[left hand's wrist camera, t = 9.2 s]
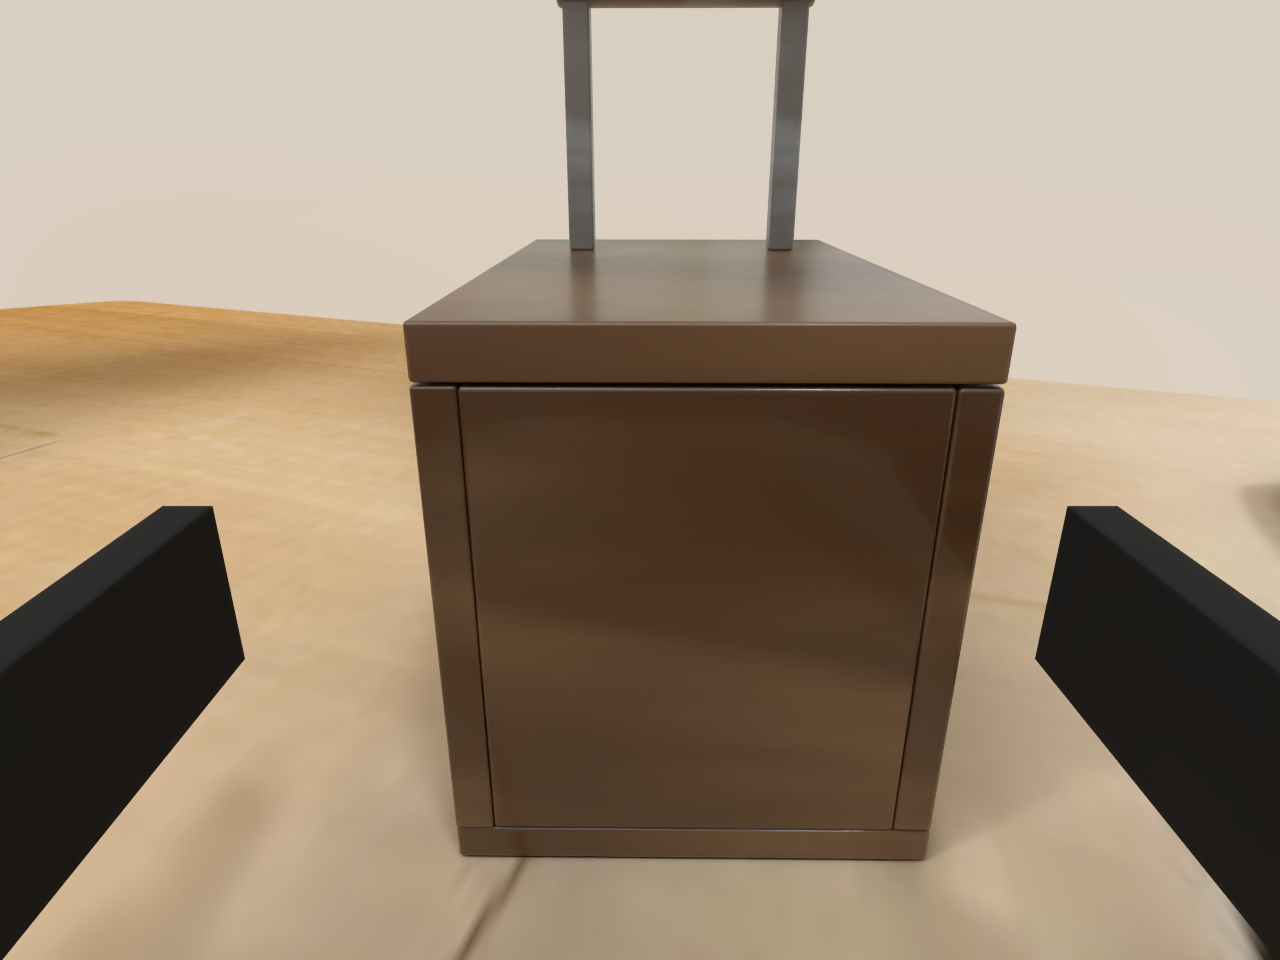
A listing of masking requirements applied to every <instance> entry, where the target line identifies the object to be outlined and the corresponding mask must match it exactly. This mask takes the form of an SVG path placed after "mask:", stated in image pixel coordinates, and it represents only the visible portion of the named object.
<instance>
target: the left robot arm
mask: <svg viewBox="0 0 1280 960" xmlns="http://www.w3.org/2000/svg"><path fill="white" fill-rule="evenodd" d="M244 659H245V657H244V652H243V648H242V643H241V638H240V633H239V629H238V624H237V619H236V615H235V610H234V605H233V601H232V596H231V591H230V586H229V582H228V577H227V572H226V568H225V563H224V558H223V553H222V549H221V544H220V539H219V535H218V530H217V525H216V520H215V516H214V511H213V506H162V507H161V508H159V509H158V510H156V511H155V512H154V513H152V514H151V515H149V516H148V517H147V518H145V519H144V520H142V521H141V522H140V523H138V524H137V525H135V526H134V527H132V528H131V529H130V530H128V531H127V532H125V533H124V534H123V535H121V536H120V537H118V538H117V539H115V540H114V541H113V542H111V543H110V544H108V545H107V546H106V547H104V548H103V549H101V550H100V551H99V552H97V553H96V554H94V555H93V556H91V557H90V558H89V559H87V560H86V561H84V562H83V563H82V564H80V565H79V566H77V567H76V568H75V569H73V570H72V571H70V572H69V573H67V574H66V575H65V576H63V577H62V578H60V579H59V580H58V581H56V582H55V583H53V584H52V585H50V586H49V587H48V588H46V589H45V590H43V591H42V592H41V593H39V594H38V595H36V596H35V597H34V598H32V599H31V600H29V601H28V602H26V603H25V604H24V605H22V606H21V607H19V608H18V609H17V610H15V611H14V612H12V613H11V614H10V615H8V616H7V617H5V618H4V619H2V620H1V621H0V960H3V958H4V957H5V956H6V955H7V953H8V952H9V951H10V950H11V949H12V947H13V946H14V945H15V944H16V942H17V941H18V940H19V939H20V937H21V936H22V935H23V934H24V932H25V931H26V930H27V929H28V927H29V926H30V925H31V924H32V922H33V921H34V920H35V919H36V917H37V916H38V915H39V914H40V913H41V911H42V910H43V909H44V908H45V906H46V905H47V904H48V903H49V901H50V900H51V899H52V898H53V896H54V895H55V894H56V893H57V891H58V890H59V889H60V888H61V886H62V885H63V884H64V883H65V881H66V880H67V879H68V878H69V877H70V875H71V874H72V873H73V872H74V870H75V869H76V868H77V867H78V865H79V864H80V863H81V862H82V860H83V859H84V858H85V857H86V855H87V854H88V853H89V852H90V850H91V849H92V848H93V847H94V845H95V844H96V843H97V842H98V841H99V839H100V838H101V837H102V836H103V834H104V833H105V832H106V831H107V829H108V828H109V827H110V826H111V824H112V823H113V822H114V821H115V819H116V818H117V817H118V816H119V814H120V813H121V812H122V811H123V809H124V808H125V807H126V806H127V805H128V803H129V802H130V801H131V800H132V798H133V797H134V796H135V795H136V793H137V792H138V791H139V790H140V788H141V787H142V786H143V785H144V783H145V782H146V781H147V780H148V778H149V777H150V776H151V775H152V773H153V772H154V771H155V770H156V769H157V767H158V766H159V765H160V764H161V762H162V761H163V760H164V759H165V757H166V756H167V755H168V754H169V752H170V751H171V750H172V749H173V747H174V746H175V745H176V744H177V742H178V741H179V740H180V739H181V737H182V736H183V735H184V734H185V733H186V731H187V730H188V729H189V728H190V726H191V725H192V724H193V723H194V721H195V720H196V719H197V718H198V716H199V715H200V714H201V713H202V711H203V710H204V709H205V708H206V706H207V705H208V704H209V703H210V701H211V700H212V699H213V698H214V697H215V695H216V694H217V693H218V692H219V690H220V689H221V688H222V687H223V685H224V684H225V683H226V682H227V680H228V679H229V678H230V677H231V675H232V674H233V673H234V672H235V670H236V669H237V668H238V667H239V665H240V664H241V663H242V662H243V661H244ZM1035 659H1036V661H1037V662H1038V663H1039V664H1040V665H1041V667H1042V668H1043V669H1044V670H1045V672H1046V673H1047V674H1048V675H1049V677H1050V678H1051V679H1052V680H1053V682H1054V683H1055V684H1056V685H1057V687H1058V688H1059V689H1060V690H1061V692H1062V693H1063V694H1064V695H1065V697H1066V698H1067V699H1068V700H1069V701H1070V703H1071V704H1072V705H1073V706H1074V708H1075V709H1076V710H1077V711H1078V713H1079V714H1080V715H1081V716H1082V718H1083V719H1084V720H1085V721H1086V723H1087V724H1088V725H1089V726H1090V728H1091V729H1092V730H1093V731H1094V733H1095V734H1096V735H1097V736H1098V737H1099V739H1100V740H1101V741H1102V742H1103V744H1104V745H1105V746H1106V747H1107V749H1108V750H1109V751H1110V752H1111V754H1112V755H1113V756H1114V757H1115V759H1116V760H1117V761H1118V762H1119V764H1120V765H1121V766H1122V767H1123V769H1124V770H1125V771H1126V772H1127V773H1128V775H1129V776H1130V777H1131V778H1132V780H1133V781H1134V782H1135V783H1136V785H1137V786H1138V787H1139V788H1140V790H1141V791H1142V792H1143V793H1144V795H1145V796H1146V797H1147V798H1148V800H1149V801H1150V802H1151V803H1152V805H1153V806H1154V807H1155V808H1156V809H1157V811H1158V812H1159V813H1160V814H1161V816H1162V817H1163V818H1164V819H1165V821H1166V822H1167V823H1168V824H1169V826H1170V827H1171V828H1172V829H1173V831H1174V832H1175V833H1176V834H1177V836H1178V837H1179V838H1180V839H1181V841H1182V842H1183V843H1184V844H1185V845H1186V847H1187V848H1188V849H1189V850H1190V852H1191V853H1192V854H1193V855H1194V857H1195V858H1196V859H1197V860H1198V862H1199V863H1200V864H1201V865H1202V867H1203V868H1204V869H1205V870H1206V872H1207V873H1208V874H1209V875H1210V877H1211V878H1212V879H1213V880H1214V881H1215V883H1216V884H1217V885H1218V886H1219V888H1220V889H1221V890H1222V891H1223V893H1224V894H1225V895H1226V896H1227V898H1228V899H1229V900H1230V901H1231V903H1232V904H1233V905H1234V906H1235V908H1236V909H1237V910H1238V911H1239V913H1240V914H1241V915H1242V916H1243V917H1244V919H1245V920H1246V921H1247V922H1248V924H1249V925H1250V926H1251V927H1252V929H1253V930H1254V931H1255V932H1256V934H1257V935H1258V936H1259V937H1260V939H1261V940H1262V941H1263V942H1264V944H1265V945H1266V946H1267V947H1268V949H1269V950H1270V951H1271V952H1272V953H1273V955H1274V956H1275V957H1276V958H1277V960H1280V621H1279V620H1278V619H1276V618H1275V617H1273V616H1272V615H1270V614H1269V613H1268V612H1266V611H1265V610H1263V609H1262V608H1261V607H1259V606H1258V605H1256V604H1255V603H1254V602H1252V601H1251V600H1249V599H1248V598H1246V597H1245V596H1244V595H1242V594H1241V593H1239V592H1238V591H1237V590H1235V589H1234V588H1232V587H1231V586H1230V585H1228V584H1227V583H1225V582H1224V581H1222V580H1221V579H1220V578H1218V577H1217V576H1215V575H1214V574H1213V573H1211V572H1210V571H1208V570H1207V569H1205V568H1204V567H1203V566H1201V565H1200V564H1198V563H1197V562H1196V561H1194V560H1193V559H1191V558H1190V557H1189V556H1187V555H1186V554H1184V553H1183V552H1181V551H1180V550H1179V549H1177V548H1176V547H1174V546H1173V545H1172V544H1170V543H1169V542H1167V541H1166V540H1165V539H1163V538H1162V537H1160V536H1159V535H1157V534H1156V533H1155V532H1153V531H1152V530H1150V529H1149V528H1148V527H1146V526H1145V525H1143V524H1142V523H1140V522H1139V521H1138V520H1136V519H1135V518H1133V517H1132V516H1131V515H1129V514H1128V513H1126V512H1125V511H1124V510H1122V509H1121V508H1119V507H1118V506H1067V511H1066V516H1065V520H1064V525H1063V530H1062V535H1061V539H1060V544H1059V549H1058V553H1057V558H1056V563H1055V568H1054V572H1053V577H1052V582H1051V586H1050V591H1049V596H1048V601H1047V605H1046V610H1045V615H1044V619H1043V624H1042V629H1041V633H1040V638H1039V643H1038V648H1037V652H1036V657H1035Z"/></svg>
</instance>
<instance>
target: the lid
mask: <svg viewBox="0 0 1280 960" xmlns="http://www.w3.org/2000/svg"><path fill="white" fill-rule="evenodd" d="M814 2H815V0H557V4H558V6H559V7H560V8H562V9H563V43H564V74H565V107H566V140H567V172H568V206H569V238H570V240H535V241H534V242H532V243H531V244H529V245H527V246H526V247H524V248H522V249H521V250H519V251H518V252H516V253H515V254H513V255H511V256H510V257H508V258H506V259H505V260H503V261H502V262H500V263H498V264H497V265H495V266H494V267H492V268H490V269H489V270H487V271H486V272H484V273H482V274H481V275H479V276H478V277H476V278H474V279H473V280H471V281H470V282H468V283H466V284H465V285H463V286H461V287H460V288H458V289H457V290H455V291H453V292H452V293H450V294H449V295H447V296H445V297H444V298H442V299H441V300H439V301H437V302H436V303H434V304H432V305H431V306H429V307H428V308H426V309H425V310H423V311H421V312H420V313H418V314H416V315H415V316H413V317H412V318H410V319H408V320H407V321H405V322H404V324H403V330H404V339H405V348H406V358H407V367H408V376H409V380H410V381H411V382H445V383H769V384H1004V383H1006V382H1007V379H1008V373H1009V367H1010V361H1011V356H1012V350H1013V344H1014V338H1015V332H1016V324H1015V323H1013V322H1011V321H1008V320H1006V319H1004V318H1001V317H999V316H996V315H994V314H992V313H989V312H987V311H985V310H982V309H980V308H977V307H975V306H973V305H970V304H968V303H966V302H963V301H961V300H959V299H956V298H954V297H951V296H949V295H947V294H944V293H942V292H940V291H937V290H935V289H933V288H930V287H928V286H925V285H923V284H921V283H918V282H916V281H914V280H911V279H909V278H906V277H904V276H902V275H899V274H897V273H895V272H892V271H890V270H887V269H885V268H883V267H880V266H878V265H876V264H873V263H871V262H869V261H866V260H864V259H861V258H859V257H857V256H854V255H852V254H850V253H847V252H845V251H842V250H840V249H838V248H835V247H833V246H831V245H828V244H826V243H824V242H821V241H819V240H794V225H795V210H796V195H797V180H798V165H799V151H800V136H801V121H802V106H803V91H804V76H805V61H806V47H807V31H808V17H809V7H811V6H813V4H814ZM591 8H779V18H778V36H777V55H776V72H775V91H774V109H773V127H772V145H771V163H770V181H769V199H768V217H767V235H766V240H595V201H594V149H593V97H592V46H591Z"/></svg>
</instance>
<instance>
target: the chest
mask: <svg viewBox="0 0 1280 960" xmlns="http://www.w3.org/2000/svg"><path fill="white" fill-rule="evenodd" d="M410 398H411V408H412V417H413V426H414V436H415V445H416V454H417V463H418V473H419V482H420V491H421V500H422V510H423V519H424V528H425V538H426V547H427V556H428V565H429V575H430V584H431V593H432V603H433V612H434V621H435V630H436V640H437V649H438V658H439V667H440V677H441V686H442V695H443V705H444V714H445V723H446V732H447V742H448V751H449V760H450V770H451V779H452V788H453V797H454V807H455V816H456V825H457V827H458V828H457V829H458V839H459V848H460V853H461V854H462V855H518V856H624V857H729V858H835V859H924V858H925V855H926V849H927V843H928V838H929V831H928V830H929V829H930V825H931V819H932V814H933V808H934V802H935V796H936V790H937V784H938V778H939V773H940V767H941V761H942V755H943V749H944V743H945V738H946V732H947V726H948V720H949V714H950V708H951V703H952V697H953V691H954V685H955V679H956V673H957V668H958V662H959V656H960V650H961V644H962V638H963V632H964V627H965V621H966V615H967V609H968V603H969V597H970V592H971V586H972V580H973V574H974V568H975V562H976V557H977V551H978V545H979V539H980V533H981V527H982V522H983V516H984V510H985V504H986V498H987V492H988V487H989V481H990V475H991V469H992V463H993V457H994V451H995V446H996V440H997V434H998V428H999V422H1000V416H1001V411H1002V405H1003V399H1004V389H1003V388H1001V387H1000V386H998V385H997V384H769V383H445V382H415V383H414V384H413V385H412V386H410Z"/></svg>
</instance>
